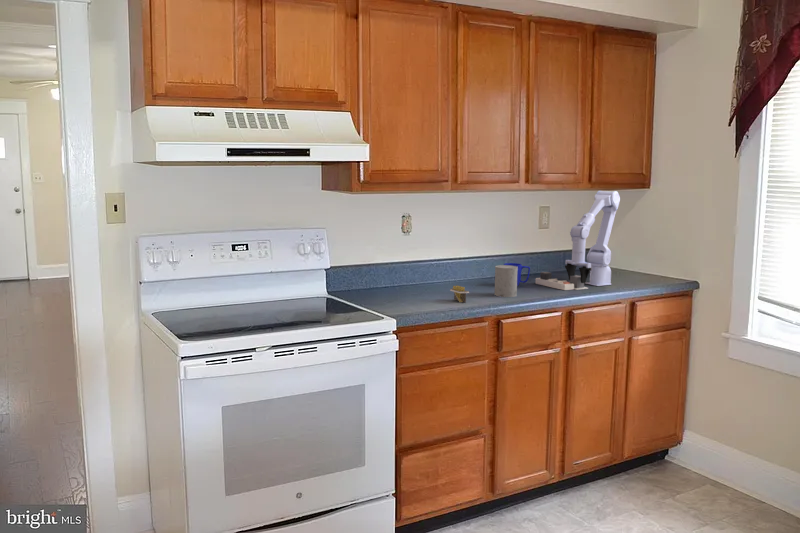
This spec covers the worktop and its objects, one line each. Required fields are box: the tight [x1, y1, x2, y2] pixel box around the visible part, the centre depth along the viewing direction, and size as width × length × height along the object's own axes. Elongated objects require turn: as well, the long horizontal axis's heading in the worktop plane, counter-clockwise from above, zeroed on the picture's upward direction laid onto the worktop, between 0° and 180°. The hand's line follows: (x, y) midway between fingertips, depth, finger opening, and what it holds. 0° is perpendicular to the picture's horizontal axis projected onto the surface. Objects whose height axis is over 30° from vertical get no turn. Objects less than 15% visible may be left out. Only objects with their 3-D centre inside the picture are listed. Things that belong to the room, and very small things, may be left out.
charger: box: [569, 274, 585, 288], centre depth 310 cm, size 4×5×5 cm
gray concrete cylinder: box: [494, 264, 518, 298], centre depth 290 cm, size 10×10×12 cm
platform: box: [449, 284, 470, 304], centre depth 276 cm, size 12×18×7 cm, turn 31°
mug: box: [503, 262, 531, 287], centre depth 314 cm, size 8×12×10 cm
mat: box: [573, 286, 589, 291], centre depth 310 cm, size 7×7×1 cm
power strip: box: [535, 271, 575, 291], centre depth 314 cm, size 6×20×6 cm, turn 29°
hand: (577, 281), depth 310 cm, fingers open, 7 cm apart
